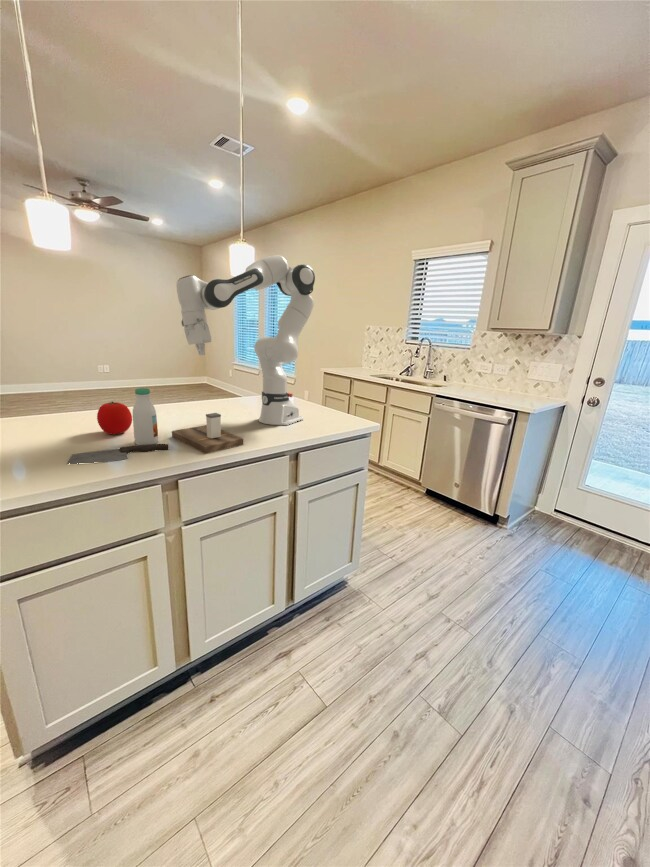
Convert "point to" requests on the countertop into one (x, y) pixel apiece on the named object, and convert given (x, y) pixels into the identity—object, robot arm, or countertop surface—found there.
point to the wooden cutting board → (206, 439)
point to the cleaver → (113, 453)
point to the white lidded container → (213, 425)
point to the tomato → (114, 418)
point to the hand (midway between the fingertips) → (202, 355)
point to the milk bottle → (144, 418)
